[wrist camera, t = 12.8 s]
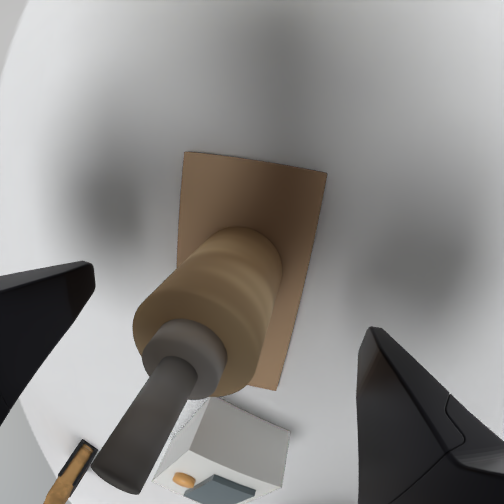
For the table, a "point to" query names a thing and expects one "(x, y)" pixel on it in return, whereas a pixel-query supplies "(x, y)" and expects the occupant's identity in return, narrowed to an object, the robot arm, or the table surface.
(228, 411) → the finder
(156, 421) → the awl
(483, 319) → the table surface
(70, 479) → the ammunition clip
